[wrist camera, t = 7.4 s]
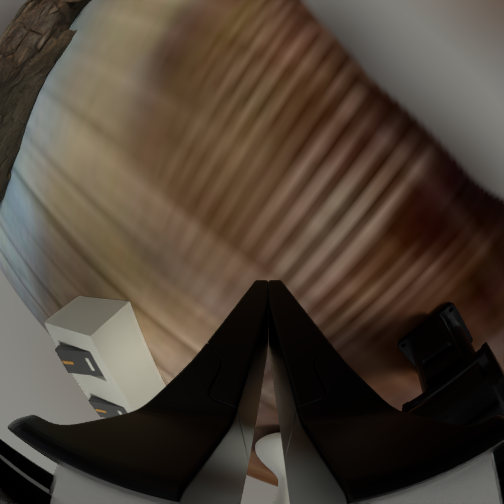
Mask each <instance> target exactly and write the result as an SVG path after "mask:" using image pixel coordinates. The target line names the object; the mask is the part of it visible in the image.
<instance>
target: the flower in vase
mask: <svg viewBox="0 0 504 504" xmlns="http://www.w3.org/2000/svg"><path fill="white" fill-rule="evenodd" d="M255 450H256V454H257V456H258V457H259V458H260V460H261V461H262V462H263V463H264V464H265V465H266V466H267V467H268V468H269V469H270V470H271V471H272V472H273V473H274V474H275V475H276V476H277V478H278V481H279V484H278V490H277V494H276V497H275V500H274V502H273V504H290V502H289V495H288V487H287V479H286V472H285V464H284V462H285V461H284V456H283V449H282V441H281V433H280V432H278V433H273V434H269V435H266V436H264V437H262V438H261V439H260V440H258V441H257V442H256V444H255Z"/></svg>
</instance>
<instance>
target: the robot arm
mask: <svg viewBox="0 0 504 504" xmlns="http://www.w3.org/2000/svg"><path fill="white" fill-rule="evenodd" d="M451 307H452V308H451ZM449 308H451V309H450V310H449ZM268 328H269V352H270V359H271V367H272V374H273V381H274V389H275V396H276V404H277V411H278V418H279V426H280V433H281V441H282V449H283V456H284V461H285V462H284V464H285V472H286V479H287V487H288V495H289V502H290V504H504V371H503V369H502V368H501V366H500V364H499V362H498V360H497V359H496V357H495V355H494V354H493V352H492V350H491V349H490V347H489V345H488V344H487V342H485V343H484V344H483V345H482V346H481V348H480V349H479V350H478V351H477V352H475V350H474V348H473V346H472V344H471V343H472V341H473V339H472V337H471V335H470V333H469V331H468V329H467V327H466V325H465V323H464V321H463V320H462V318H461V316H460V314H459V312H458V310H457V309H456V307H455V305H454V304H453V303H448V304H447V305H446V306H444V307H443V308H442V309H441V310H439V311H438V312H437V313H436V314H434V315H433V316H432V317H431V318H429V319H428V320H427V321H425V322H424V323H423V324H421V325H420V326H419V327H417V328H416V329H415V330H413V331H412V332H411V333H409V334H408V335H406V336H405V337H404V338H402V339H401V340H399V342H398V347H399V349H400V350H401V351H402V352H403V353H404V354H405V356H406V357H407V358H408V359H409V360H410V361H411V362H412V364H413V365H414V366H415V367H416V369H417V373H418V377H419V380H420V384H421V388H422V392H423V393H422V394H421V395H419V396H418V397H416V398H415V399H413V400H412V401H410V402H407V403H405V404H403V407H402V411H399V410H397V409H395V408H394V407H392V406H391V405H389V404H388V403H387V402H386V401H384V400H383V399H382V398H381V397H380V396H379V395H378V394H377V393H376V392H375V391H374V390H373V389H372V388H371V387H370V386H369V385H368V384H367V383H366V382H365V381H364V380H363V379H362V378H361V377H360V376H359V375H358V374H357V373H356V372H355V371H354V370H353V369H352V368H351V367H350V366H349V365H348V364H347V363H346V362H345V361H344V360H343V358H342V357H341V356H340V355H339V354H338V352H337V351H336V350H335V349H334V347H333V346H332V345H331V344H330V343H329V341H328V340H327V339H326V337H325V336H324V335H323V333H322V332H321V331H320V330H319V328H318V327H317V326H316V324H315V323H314V322H313V321H312V319H311V318H310V317H309V315H308V314H307V313H306V312H305V310H304V309H303V308H302V306H301V305H300V304H299V303H298V301H297V300H296V299H295V297H294V296H293V295H292V294H291V292H290V291H289V290H288V289H287V287H286V286H285V285H284V283H283V282H282V281H281V280H270V281H269V282H268V281H267V280H256V281H255V282H254V283H253V284H252V286H251V287H250V288H249V290H248V291H247V292H246V293H245V295H244V296H243V297H242V299H241V300H240V301H239V303H238V304H237V305H236V306H235V308H234V309H233V310H232V311H231V313H230V314H229V315H228V317H227V318H226V319H225V320H224V322H223V323H222V324H221V326H220V327H219V328H218V329H217V331H216V332H215V333H214V334H213V336H212V337H211V338H210V339H209V341H208V342H207V343H206V344H205V346H204V347H203V348H202V349H201V351H200V352H199V353H198V354H197V355H196V357H195V358H194V359H193V360H192V361H191V362H190V363H189V364H188V365H187V366H186V367H185V368H184V369H183V370H182V371H181V372H180V373H179V374H178V375H177V376H176V377H175V378H174V379H173V380H172V381H171V382H170V383H169V384H168V385H167V386H166V387H164V388H163V389H162V390H161V391H160V392H159V393H158V394H157V395H156V396H155V397H154V398H152V399H151V400H150V401H149V402H148V403H147V404H145V405H144V406H142V407H140V408H139V409H137V410H135V411H132V412H129V413H125V414H121V415H117V416H113V417H109V418H104V419H100V420H95V421H90V422H85V423H79V424H73V425H59V424H53V423H50V422H48V421H46V420H44V419H42V418H40V417H38V416H35V415H30V416H26V417H22V418H19V419H16V420H14V421H13V422H12V423H11V424H10V425H9V426H8V429H9V430H10V431H11V432H13V433H14V434H15V435H16V436H17V437H19V438H20V439H21V440H23V441H24V442H25V443H27V444H28V445H30V446H31V447H32V448H34V449H35V450H37V451H38V452H40V453H41V454H43V455H44V456H46V457H47V458H49V459H51V460H52V461H54V462H56V463H57V467H56V470H55V473H54V475H53V474H51V473H49V472H48V471H46V470H45V469H43V468H42V467H40V466H38V465H37V464H35V463H34V462H32V461H30V460H29V459H28V458H26V457H25V456H23V455H22V454H20V453H19V452H18V451H16V450H15V449H13V448H12V447H10V446H9V445H8V444H7V443H5V442H4V441H2V440H1V439H0V504H240V503H241V498H242V494H243V489H244V484H245V479H246V474H247V468H248V463H249V462H248V461H249V458H250V452H251V447H252V441H253V436H254V430H255V424H256V419H257V413H258V407H259V401H260V395H261V388H262V382H263V376H264V369H265V363H266V356H267V349H268ZM403 343H405V344H403ZM402 344H403V345H402Z"/></svg>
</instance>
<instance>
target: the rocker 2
mask: <svg viewBox="0 0 504 504" xmlns="http://www.w3.org/2000/svg"><path fill="white" fill-rule="evenodd" d="M89 402H90V404H91V405H92V406H93V408H94V409H95V410H96V412H97V413H98V414H99V415H100V417H103V418H109V417H113V416H117V415H121V414H125V413H127V411H126V410H125V408H124V407H122V406H119V405H117V404H114V403H112V402H109V401H107V400H105V399H102V398H100V397H95V396H91V397H90V399H89Z"/></svg>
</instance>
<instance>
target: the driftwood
mask: <svg viewBox="0 0 504 504" xmlns="http://www.w3.org/2000/svg"><path fill="white" fill-rule="evenodd" d="M89 1H90V0H27V1H26V3H25V4H24V5H23V6H22V7H21V8H20V9H19V11H18V12H17V14H16V16H15V18H14V19H13V20H12V21H11V23H10V24H9V25H8V27H7V28H6V30H5V31H4V33H3V35H2V36H1V38H0V201H1V200H2V199H3V197H4V194H5V190H6V187H7V183H8V181H9V179H10V176H11V173H10V171H11V169H12V165H13V163H14V161H15V158H16V156H17V154H18V151H19V149H20V145H21V141H22V137H23V134H24V132H25V126H26V124H27V122H28V119H29V117H30V114H31V111H32V108H33V105H34V103H35V101H36V98H37V95H38V93H39V91H40V89H41V87H42V85H43V83H44V81H45V79H46V76H47V74H48V72H49V71H50V70H51V68H52V67H53V66H54V64H55V63H56V61H57V60H58V59H59V58H60V56H61V55H62V54H63V52H64V51H65V49H66V48H67V46H68V45H69V43H70V42H71V40H72V37H73V36H74V34H75V33H76V31H77V30H76V31H72V30H69V27H70V26H71V24H72V22H73V21H74V19H75V17H76V16H77V14H78V13H79V12H80V11H81V9H82V8H83V7H84V6H85V5H86V4H87V3H88V2H89Z"/></svg>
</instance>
